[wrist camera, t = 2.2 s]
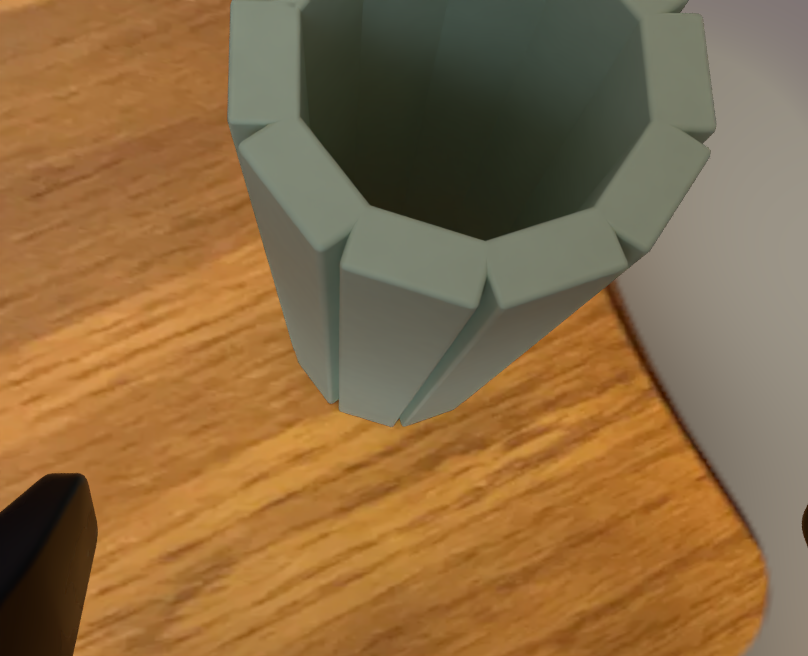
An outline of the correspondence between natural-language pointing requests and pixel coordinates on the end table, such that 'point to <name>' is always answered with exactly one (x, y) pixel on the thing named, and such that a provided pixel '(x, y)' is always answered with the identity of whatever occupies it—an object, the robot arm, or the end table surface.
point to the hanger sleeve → (456, 175)
